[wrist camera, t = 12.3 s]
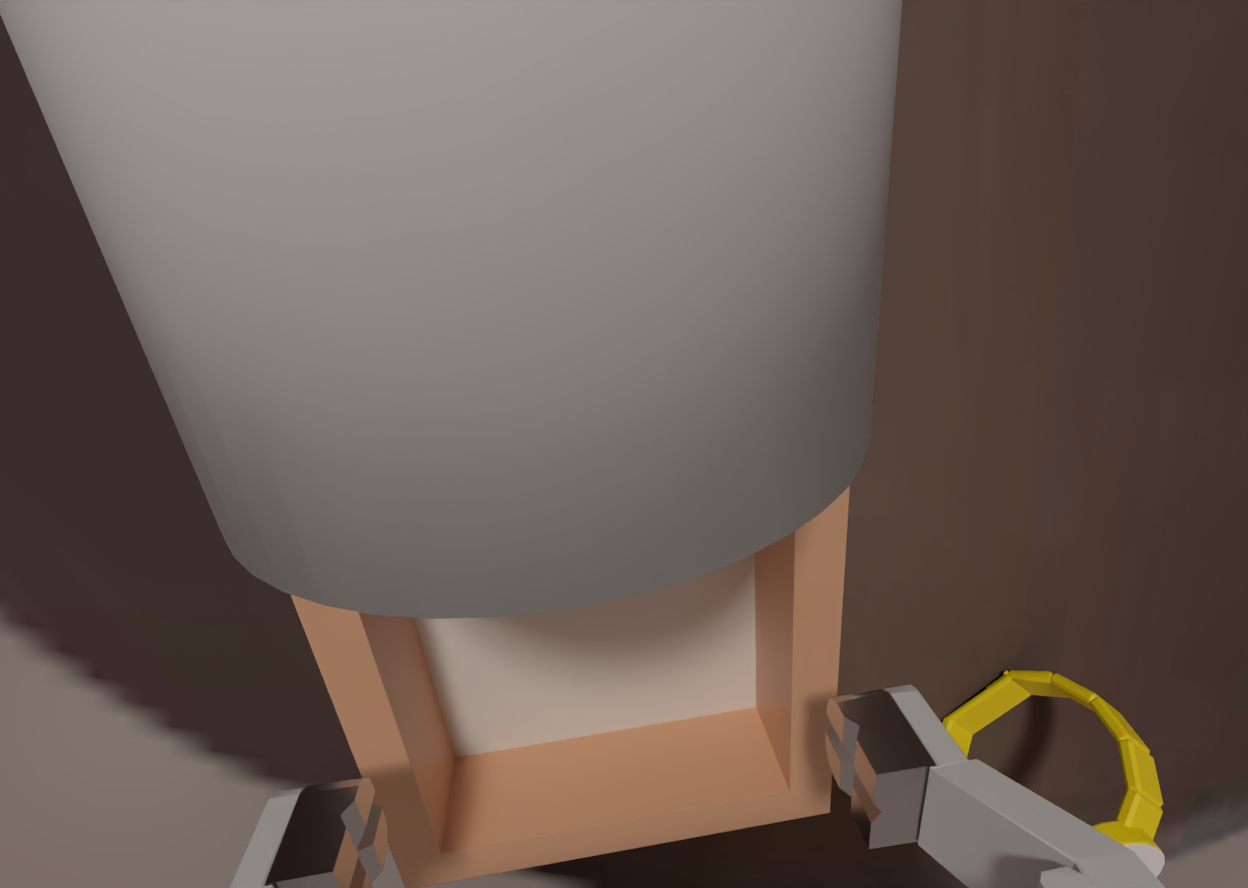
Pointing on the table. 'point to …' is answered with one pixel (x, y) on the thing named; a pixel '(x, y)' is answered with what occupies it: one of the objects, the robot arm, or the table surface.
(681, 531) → the motor
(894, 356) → the table surface
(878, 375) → the table surface
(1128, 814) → the watch
